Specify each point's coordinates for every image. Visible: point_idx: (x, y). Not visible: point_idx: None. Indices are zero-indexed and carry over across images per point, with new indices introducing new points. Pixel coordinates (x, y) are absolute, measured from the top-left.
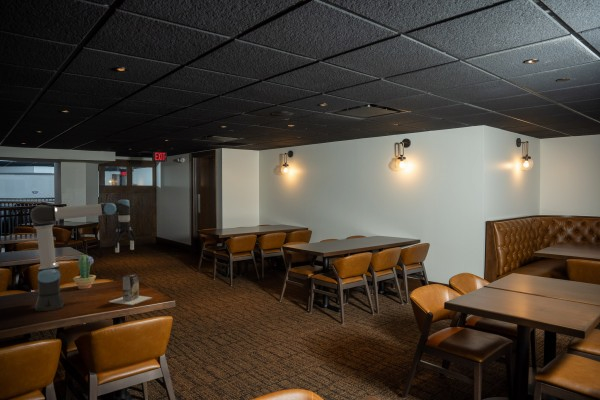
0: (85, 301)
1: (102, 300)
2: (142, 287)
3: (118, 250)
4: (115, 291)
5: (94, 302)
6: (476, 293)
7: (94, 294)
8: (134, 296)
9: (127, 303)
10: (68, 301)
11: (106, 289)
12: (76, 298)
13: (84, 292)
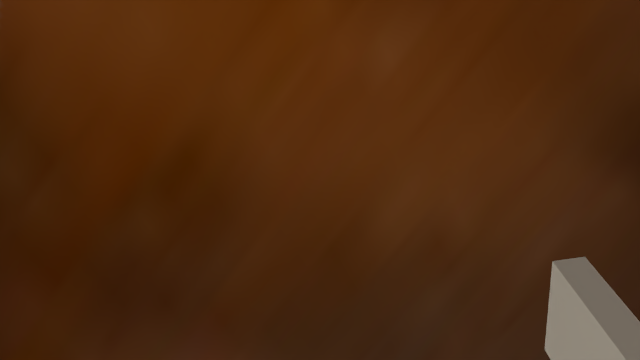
0: (604, 115)
1: (538, 13)
2: (15, 106)
3: (605, 294)
4: (264, 191)
5: (611, 16)
6: None
7: (413, 246)
8: None
9: None
10: (634, 224)
11: (259, 305)
12: (551, 251)
13: (400, 351)
